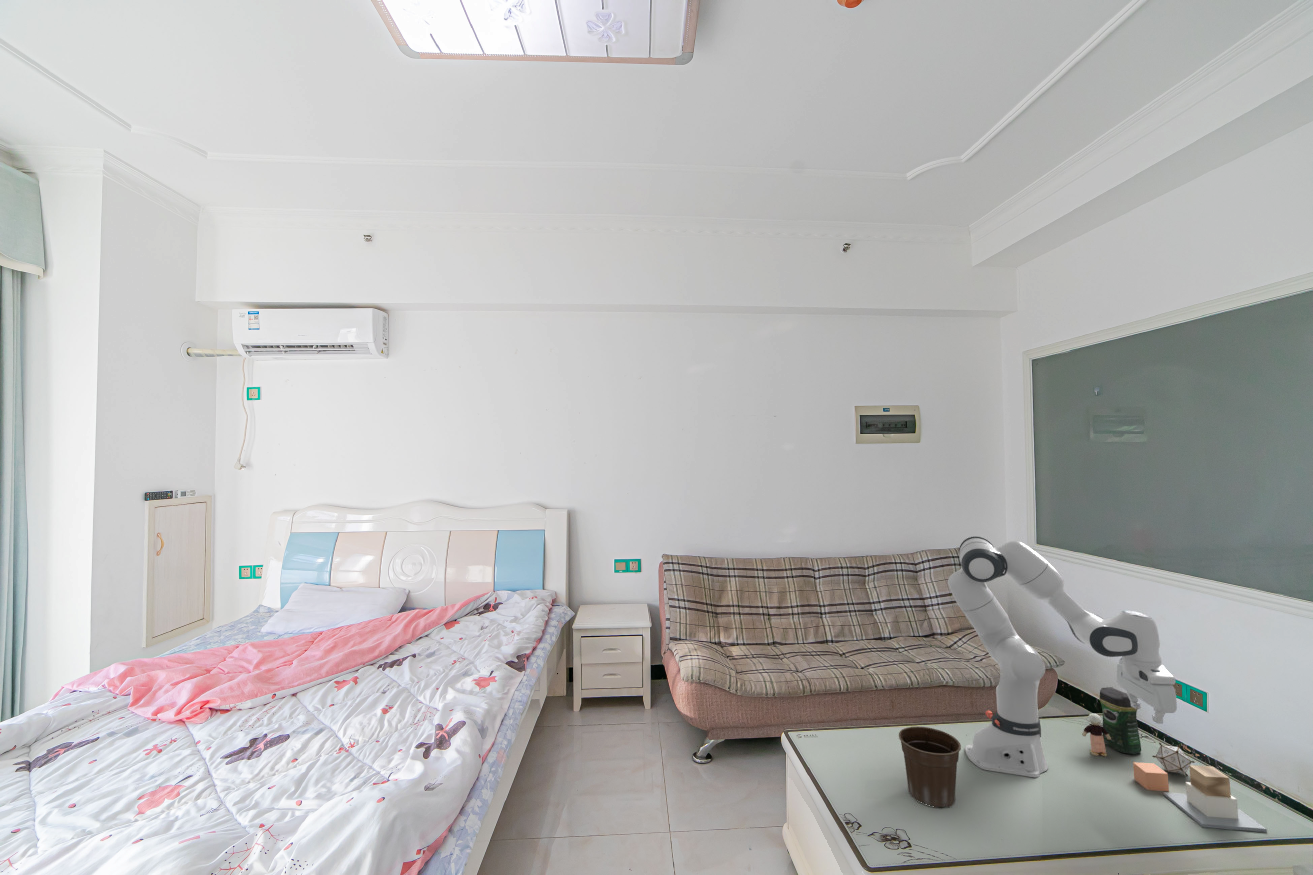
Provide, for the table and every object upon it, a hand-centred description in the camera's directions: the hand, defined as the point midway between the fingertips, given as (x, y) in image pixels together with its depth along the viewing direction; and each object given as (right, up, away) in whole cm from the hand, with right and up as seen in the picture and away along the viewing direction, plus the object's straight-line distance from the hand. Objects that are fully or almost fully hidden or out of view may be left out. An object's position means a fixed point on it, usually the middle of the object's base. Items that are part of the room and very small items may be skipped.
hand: (1146, 714), depth 162 cm
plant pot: (-65, -22, -3) cm, 69 cm away
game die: (+13, -20, +5) cm, 24 cm away
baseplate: (+5, -19, -14) cm, 24 cm away
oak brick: (+5, -13, -14) cm, 20 cm away
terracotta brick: (0, -20, -1) cm, 20 cm away
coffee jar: (+9, -21, +20) cm, 30 cm away
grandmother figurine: (-1, -21, +17) cm, 27 cm away
